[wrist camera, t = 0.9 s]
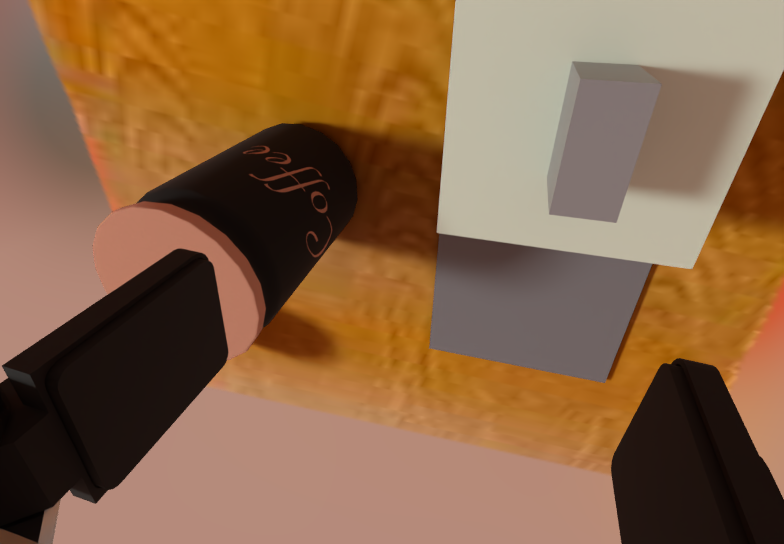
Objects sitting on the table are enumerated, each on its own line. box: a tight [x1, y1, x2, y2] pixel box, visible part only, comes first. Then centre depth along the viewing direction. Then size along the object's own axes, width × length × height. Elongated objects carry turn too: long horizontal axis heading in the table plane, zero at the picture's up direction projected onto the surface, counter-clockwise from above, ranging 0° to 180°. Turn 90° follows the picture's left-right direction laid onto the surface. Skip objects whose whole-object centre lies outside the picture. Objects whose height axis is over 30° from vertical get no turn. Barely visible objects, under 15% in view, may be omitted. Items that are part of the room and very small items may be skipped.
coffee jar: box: [93, 123, 357, 360], centre depth 33 cm, size 11×11×18 cm
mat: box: [429, 233, 652, 383], centre depth 40 cm, size 17×17×1 cm
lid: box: [437, 0, 784, 269], centre depth 22 cm, size 15×15×7 cm
